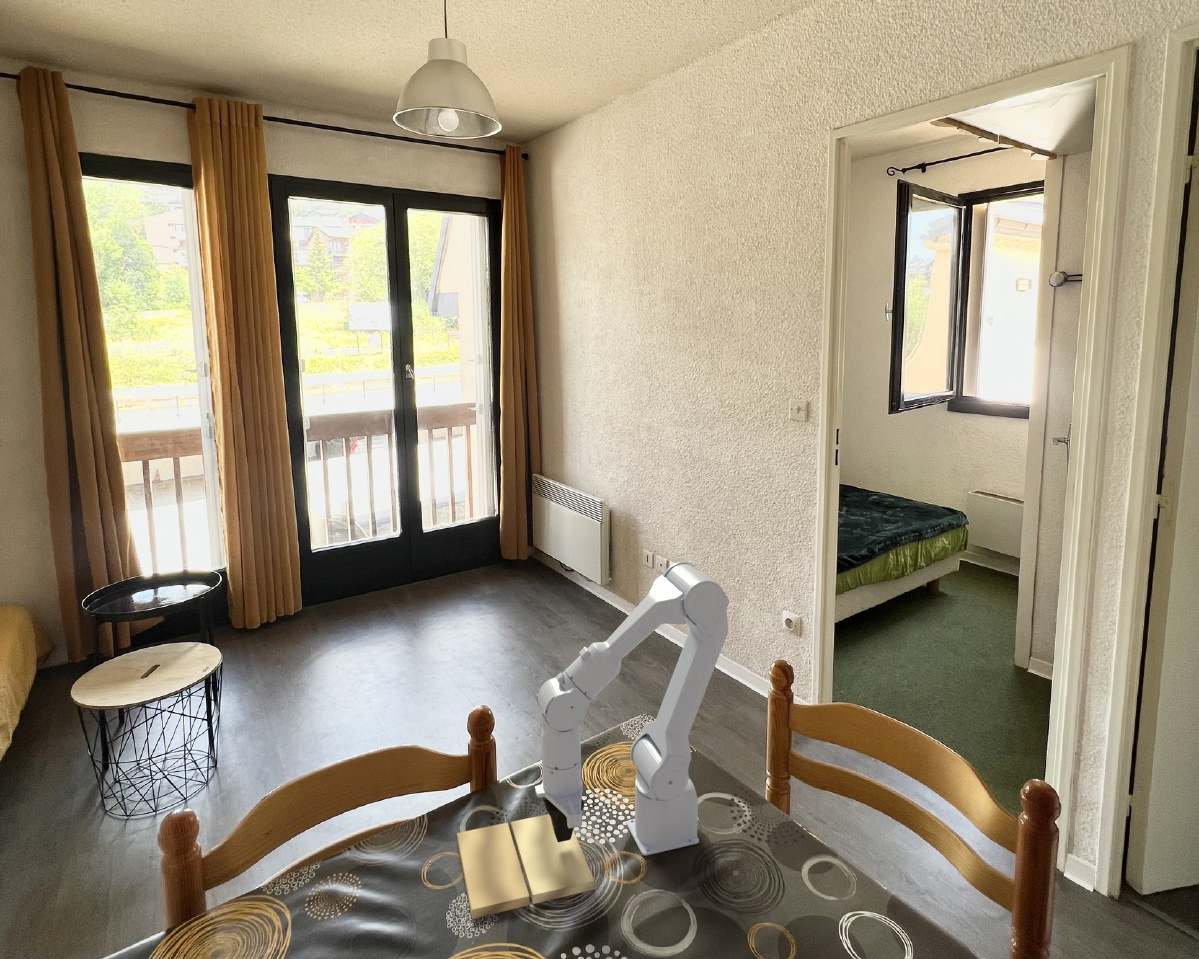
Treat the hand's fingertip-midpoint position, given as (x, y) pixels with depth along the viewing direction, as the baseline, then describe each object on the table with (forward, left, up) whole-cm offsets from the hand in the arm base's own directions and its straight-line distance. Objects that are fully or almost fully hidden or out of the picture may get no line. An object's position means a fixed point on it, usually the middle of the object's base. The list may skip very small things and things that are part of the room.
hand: (563, 838), depth 113 cm
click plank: (+2, 0, -3) cm, 4 cm away
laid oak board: (+11, 0, -3) cm, 11 cm away
